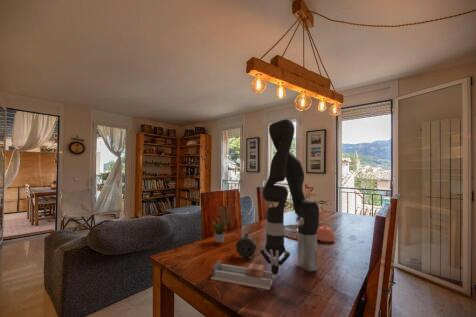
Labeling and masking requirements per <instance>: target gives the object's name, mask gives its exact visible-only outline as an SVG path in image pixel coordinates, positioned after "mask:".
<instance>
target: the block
mask: <svg viewBox="0 0 476 317" xmlns="http://www.w3.org/2000/svg"><path fill="white" fill-rule="evenodd" d="M247 268H248V276H254V277H259V278H264V271H265V265H264V264H257V263H253V262H252V263H250V264H249V266H248V267H247Z"/></svg>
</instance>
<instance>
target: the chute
mask: <svg viewBox="0 0 476 317" xmlns="http://www.w3.org/2000/svg"><path fill="white" fill-rule="evenodd" d="M211 270H212V276H211V277H210V279H211V280H215V281H220V282H227V283H231V284H238V285H243V286H248V287H253V288H258V289H263V290H270V289H271V286H272V284H273V280H274V278H275V274H273V273H272V272H271V270H270V271H268V270H264V278H259V277H254V276H248V267H244V266H238V265H231V264H224V263H222V260H220V259H219V260H218V261H217V262H216V263H215V264H214V265H213V266H212V269H211Z"/></svg>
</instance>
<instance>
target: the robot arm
mask: <svg viewBox="0 0 476 317" xmlns="http://www.w3.org/2000/svg"><path fill="white" fill-rule="evenodd" d="M294 125H295V124H294V123H293V121H292V120H291V119H289V118H285V119H282V120H279V121H276V122H275V121H274V122H273V123H271V124H270V125H269V128H268V132H269V136H270V139H271V141H272V144H273V146H274V148H275V150H276V152H275V154H274V155H273V157H272V159H271V162H270V168H269V175H268V178H267V181H266V183H265V186H264V187H263V190H262V196H263V199H264V200H265V201H266V202H272V203H273V202H274V203H278V204H277V205H276V206H270V207H268V208H267V210H266V225H265V226H266V228H265V231H266V236H265V237H266V238H265V240H266V241H265V243H266V244H265V246H264V248H261V249H260V250H259V252H260V254H261V255H262V257H263V259H264V260H265V261H266V263H267V264H270V266H271V270H270V272H272V273H273V274H274V276H275V275H276V276H277V274H278V273H279V270H280V269H279V268H280V267H279V266H282V265H283V264H284V263H285V262H286V261H287V260H288V259H289V257H290V255H291V253H290V251H288V250H286V246H285V224H284V221H285V220H284V217H285V213H284V211H285V207H286V203H287V199H288V197H289V192H290V195H291V196H290V197H291V200H292V201H291V202H292V205H293V209H294V210H293V211H294V212H295V214H296V215H297V217H299V218H302V219H303V224H300V225H298V226H297V267H299V268H301V269H304V271H305V272H318V239H317V230H318V228H319V224H320V219H319V218H320V208H319V204H318V203H317V202H315V201H313V200H307V199H306V197H305V195H304V191H303V185H304V181H305V172H304V169H303V166H302V163H301V161H300V160H299V159H298V157H296V155H295V154H293V153H292V152H291V147H292V144H293V140H294V136H295V126H294ZM285 180H286V182H287V186H288V187H287V186H285V185H277V183H280V182H284V181H285ZM288 189H289V190H288ZM282 255H283V257H282V258H281V259H280V257H281V256H282Z"/></svg>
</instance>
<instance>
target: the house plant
mask: <svg viewBox="0 0 476 317" xmlns="http://www.w3.org/2000/svg"><path fill="white" fill-rule="evenodd" d="M226 219H227V217H226V218H224V219H223V220H222V222H221V221H220V219H219V218H217V221H218V222H217V223H218V224H217V223H216V221H214V220H213V219H211V221H212V225H213V226H212V227H211V229H213V230H215V232H214V234H213V235H214V240H215V241H217V242H222V241H225V234H226V233H225V232H224V231H228V227H225V226H226V225H227V223H228V222H231V221H232V220H231V219H230V220H226ZM215 241H214V242H215Z"/></svg>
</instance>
